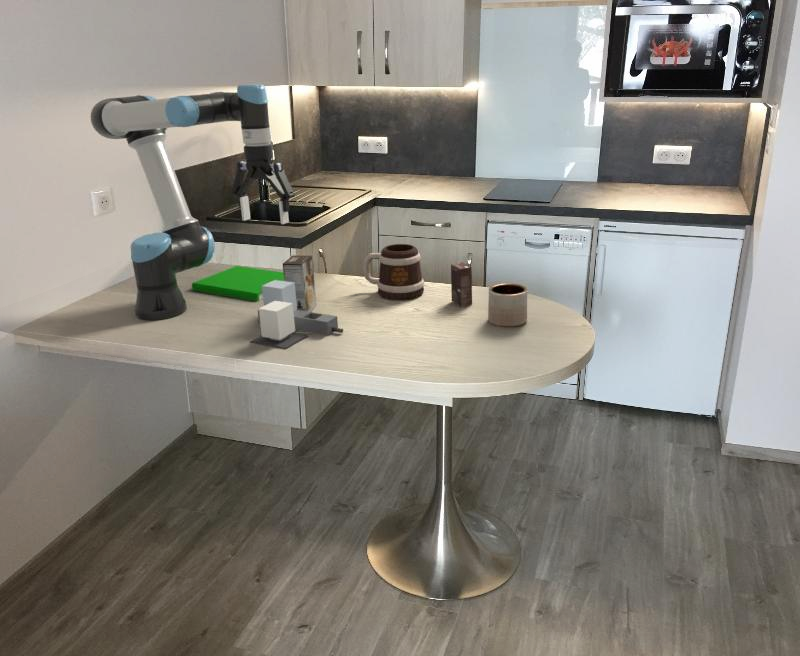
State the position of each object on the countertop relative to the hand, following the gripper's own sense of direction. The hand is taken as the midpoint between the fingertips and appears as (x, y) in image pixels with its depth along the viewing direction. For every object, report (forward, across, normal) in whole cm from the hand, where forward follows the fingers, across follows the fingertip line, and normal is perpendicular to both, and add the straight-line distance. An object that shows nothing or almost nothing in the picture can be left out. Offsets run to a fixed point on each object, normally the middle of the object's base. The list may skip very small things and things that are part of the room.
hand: (265, 221), depth 203 cm
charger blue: (+26, +6, -4) cm, 27 cm away
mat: (+29, +12, -14) cm, 34 cm away
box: (+29, +46, +32) cm, 63 cm away
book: (+29, -28, +21) cm, 46 cm away
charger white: (+28, +12, -14) cm, 34 cm away
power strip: (+29, +12, -4) cm, 32 cm away
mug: (+29, +22, +33) cm, 49 cm away
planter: (+29, +64, +23) cm, 74 cm away
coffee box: (+29, +4, +8) cm, 30 cm away
